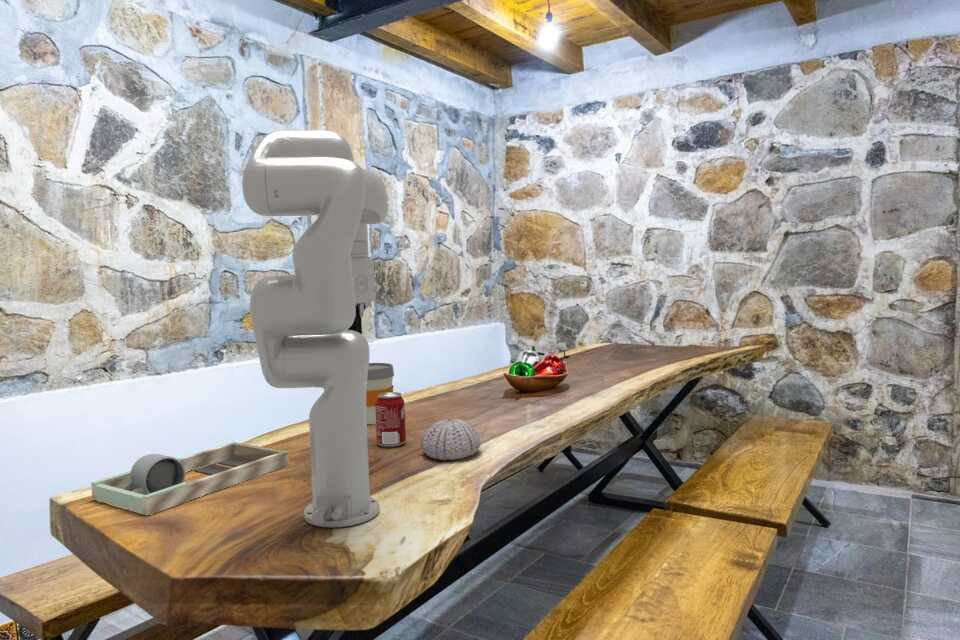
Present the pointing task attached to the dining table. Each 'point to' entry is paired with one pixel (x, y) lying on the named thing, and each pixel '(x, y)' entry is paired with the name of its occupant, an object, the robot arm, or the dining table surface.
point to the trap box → (213, 473)
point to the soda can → (390, 419)
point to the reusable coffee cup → (377, 386)
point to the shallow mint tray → (126, 494)
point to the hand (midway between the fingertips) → (353, 335)
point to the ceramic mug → (155, 474)
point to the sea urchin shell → (450, 440)
